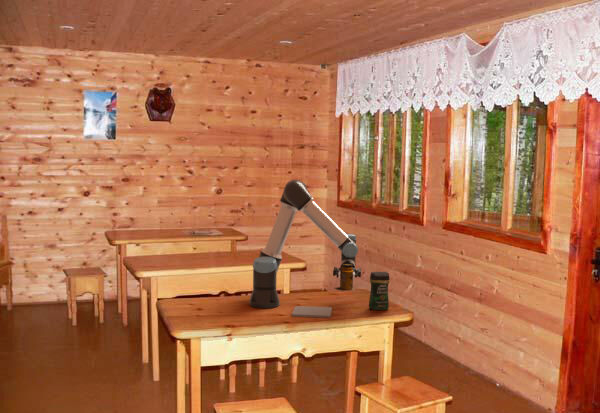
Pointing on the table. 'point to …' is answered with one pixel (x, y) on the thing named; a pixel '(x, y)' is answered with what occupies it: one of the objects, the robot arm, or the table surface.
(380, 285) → the coffee jar
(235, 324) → the table surface
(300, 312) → the plain gray board
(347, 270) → the condiment
